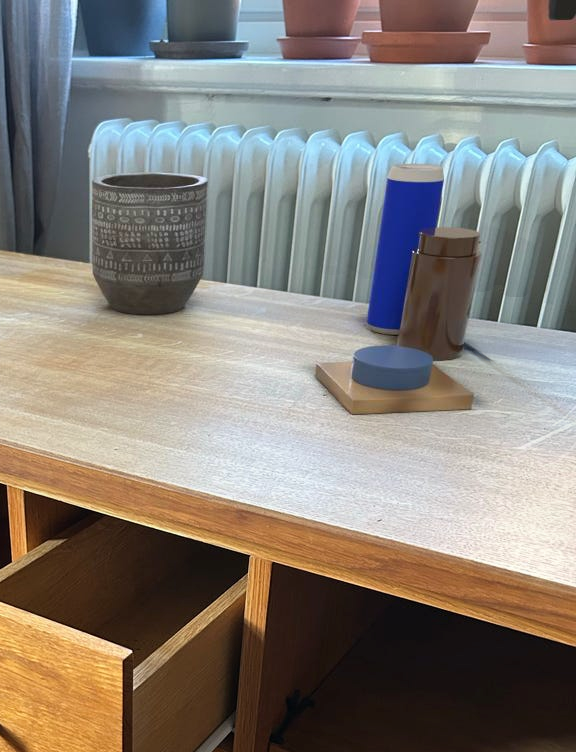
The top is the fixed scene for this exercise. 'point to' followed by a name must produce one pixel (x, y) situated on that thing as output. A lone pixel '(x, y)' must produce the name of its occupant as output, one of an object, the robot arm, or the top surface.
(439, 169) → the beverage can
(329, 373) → the plate
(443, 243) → the jar
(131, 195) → the planter
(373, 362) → the jar lid
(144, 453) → the top surface
